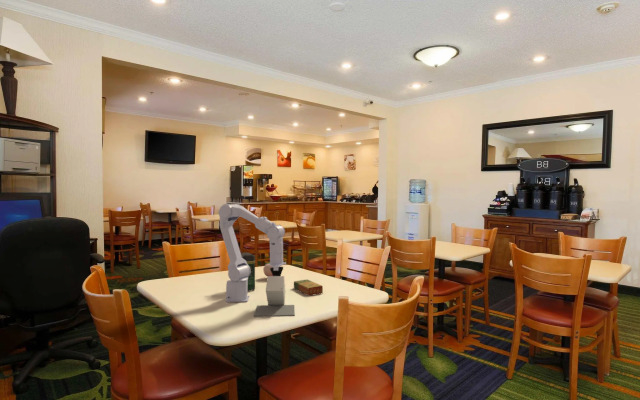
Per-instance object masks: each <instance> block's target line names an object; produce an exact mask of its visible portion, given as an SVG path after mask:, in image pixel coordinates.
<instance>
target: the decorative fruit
mask: <svg viewBox="0 0 640 400" xmlns="http://www.w3.org/2000/svg"><path fill="white" fill-rule="evenodd" d="M270 268H272V266H270V261H269V262H266V263H264V266H263V273H264V276H266V277H268V276H273V275H272V272H271V270H270Z"/></svg>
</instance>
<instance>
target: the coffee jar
mask: <svg viewBox="0 0 640 400" xmlns="http://www.w3.org/2000/svg"><path fill="white" fill-rule="evenodd" d="M240 253H241V256H242V258H243V259H244V260H246V262H247V264H248V266H249V267H250V269H251V273H250V275H249V276H248V292H251V291H255V289H256V255H254V254H252V253H250V252H240Z"/></svg>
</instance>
